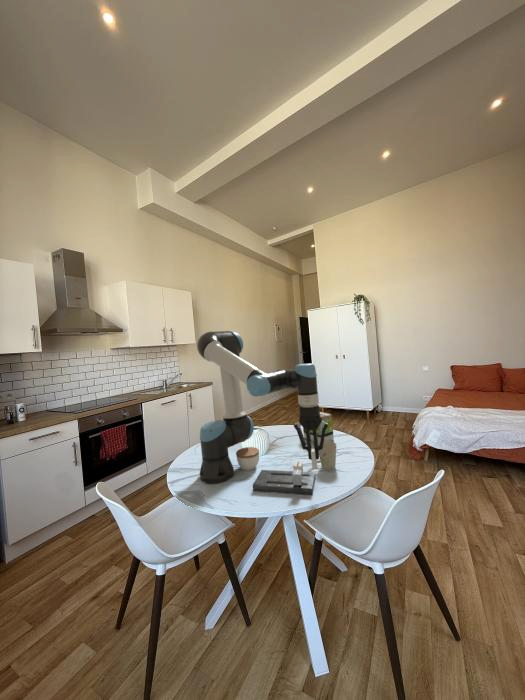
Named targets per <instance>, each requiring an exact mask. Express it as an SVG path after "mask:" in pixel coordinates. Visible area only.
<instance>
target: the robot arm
mask: <svg viewBox="0 0 525 700" xmlns="http://www.w3.org/2000/svg"><path fill="white" fill-rule="evenodd" d="M196 343H197V344H196V347H197V348H196V349H197V352H198V354H199V355H200V356H201V357H202V358H203V359H204V360H206V361H207V362H212V363H214V364H216V365H217V366H218V367H219V370H220V371H219V372H220V376H221V377H220V379H221V385H222V386H221V388H222V395H223V402H224V408H225V409H224V410H225V413H224V414H223V416H222V419H216V420H211V421H208V422H206V423H205V424H203V425H202V426H201V427H200V430H199V440H200V449H201V450H200V451H201V456H202V457H201V458H202V461H201V466H200V469H199V470H200V471H199V480H200V482H202V483H204V484H209V485H210V484H212V485H213V484H218V483H219V484H220V483H224V482H226V481H229V480H230V479H231V478H233V476H234V475H235V469H234V466H233V463H232V461H231V459H230V457H229V448H232V447H234V446H236V445H238V444H241V443H244V442H245V441H247V440H249V439H251V437H252V436H253V434H254V430H255V428H254V427H255V425H254V422H253V420H252V418H251V417H250V416H249V415H248V413H247V411H245V410H244V405H243V396H242V390H241V389H242V388H241V382H242V383H243V384H245V385H246V389H247V391H248V393H249V394H250V395H251V396H253V397H255V398H257V397H262V396H266V395H271V394H273V393H277V392H279V391H284V390H292V389H293V390H296V391H297V400H298V401H297V402H298V405H299V407H298V413H299V419H298V421H297V422H294V424H293V428H294V429H295V430H296V432H297V436H298V438H299V442H300V444H301V447H302V450H303V451H304V450H306V451H307V455H308V460H310V459H312V461H311V468H312V470H317V468H318V463H317V461H318V460H320V457H319V450H322V449H323V444H324V437H325V430H326V429H327V427H328V423H327V422H326V423H325V422H324V421H322V418H321V417H320V412H321V411H320V405H319V404H320V401H319V391H318V384H317V383H318V381H317V378H318V375H317V372H316V371H317V370H316V365H315V363H311V362H310V363H300V364H295V366H294V367H295V368H294V369H274V370H272V372H267V373H266V372H264V371H263V370H261V369H259V368H257V367H256V366H254V365H252V364H251V363H250V362H248V361H247V360H244V359H243V358H241V356H240V354H241V353H242V352H243V349H244V341H243V338H242V337H241V335H240V334H239V333H238V332H236V331H233V330H224V331H223V330H221V331H207V332H205V333H203V334H201V336H199V338H198V340H197V342H196ZM320 424H322V425H321V427H322V434H321V440H320V445H319V446H318V438H317V429H318V427H319V425H320ZM301 426H302V428H301ZM303 428H304V429H305V430H306V438H307V439H306V438H304V432H303V431H302V430H303ZM310 430H313V438H314V441H313V445H314V446H313V447H312V440H311V436H310ZM312 448H315V449H312Z"/></svg>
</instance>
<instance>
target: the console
mask: <svg viewBox="0 0 525 700" xmlns="http://www.w3.org/2000/svg"><path fill="white" fill-rule="evenodd" d="M293 472H294V470H275V469H274V470H273V469H261V470H260V471H259V473H258V475H257V477H256V478H255V480H254V482H253V484H252V491H253V492H256V493H257V492H258V493H269V494H270V493H271V494H284V495H285V494H287V495H300V496H301V495H302V496H313V495H314V489H315V484H316V471H303V474H302V477H303V481H302V485H293Z"/></svg>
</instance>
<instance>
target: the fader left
mask: <svg viewBox="0 0 525 700" xmlns="http://www.w3.org/2000/svg"><path fill="white" fill-rule="evenodd" d="M294 470H302V474H303V472H304V467H303V461H295V462H294V464H293V471H294Z"/></svg>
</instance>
